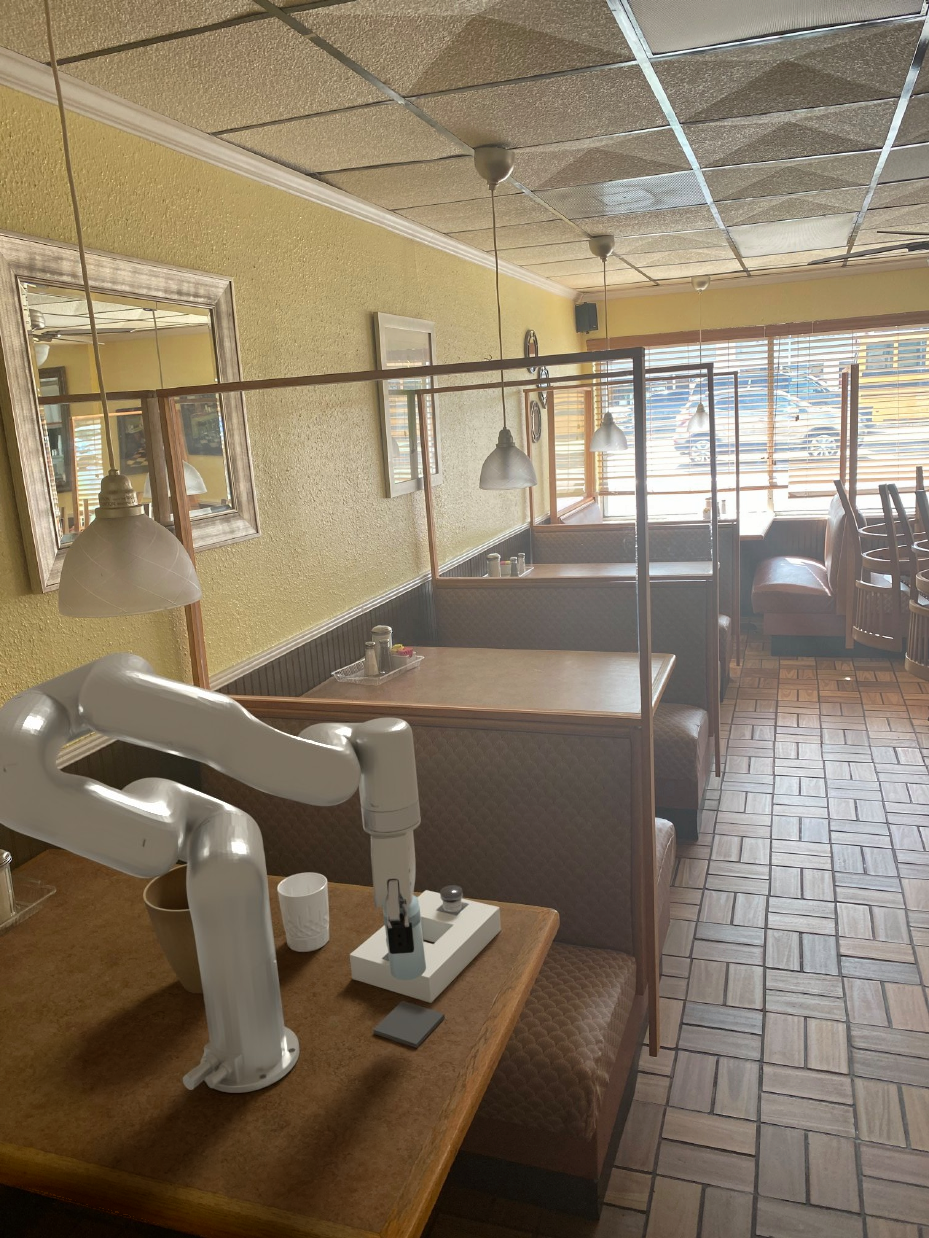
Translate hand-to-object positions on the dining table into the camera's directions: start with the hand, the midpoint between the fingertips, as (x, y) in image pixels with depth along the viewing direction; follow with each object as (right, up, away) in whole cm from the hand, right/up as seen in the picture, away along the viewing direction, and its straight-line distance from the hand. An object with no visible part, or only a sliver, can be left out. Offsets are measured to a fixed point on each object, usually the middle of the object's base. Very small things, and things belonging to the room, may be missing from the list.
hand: (403, 938), depth 123 cm
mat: (+1, -13, +3) cm, 13 cm away
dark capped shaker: (+6, -7, +26) cm, 27 cm away
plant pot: (-31, -12, +17) cm, 37 cm away
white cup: (-17, -9, +26) cm, 32 cm away
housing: (+3, -9, +20) cm, 22 cm away
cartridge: (+1, -4, +1) cm, 5 cm away
